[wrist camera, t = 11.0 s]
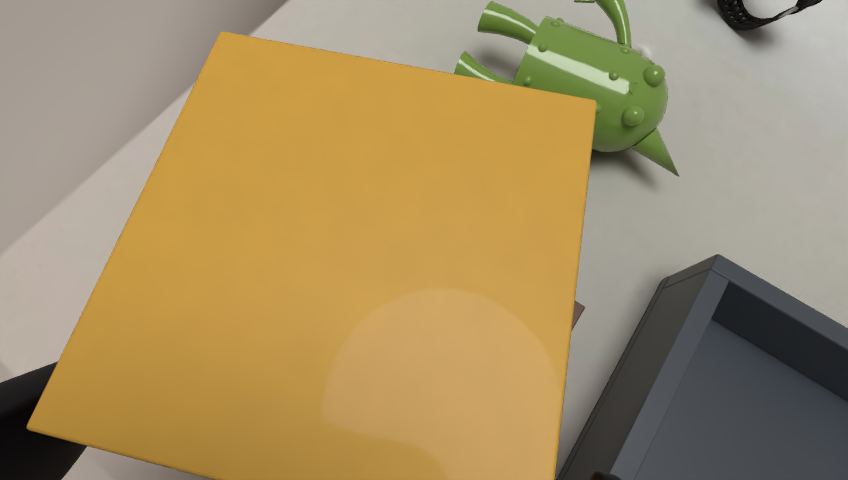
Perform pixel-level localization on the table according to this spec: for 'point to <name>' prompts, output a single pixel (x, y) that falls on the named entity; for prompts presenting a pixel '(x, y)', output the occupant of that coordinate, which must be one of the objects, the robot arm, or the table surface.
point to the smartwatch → (743, 24)
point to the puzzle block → (339, 278)
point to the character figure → (587, 75)
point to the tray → (723, 387)
